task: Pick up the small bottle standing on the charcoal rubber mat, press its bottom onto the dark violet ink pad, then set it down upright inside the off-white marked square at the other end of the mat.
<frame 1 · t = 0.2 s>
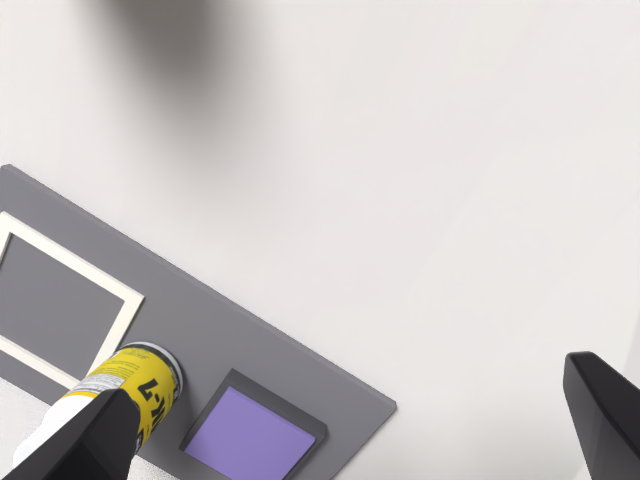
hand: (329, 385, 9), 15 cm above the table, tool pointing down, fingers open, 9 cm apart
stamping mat: (161, 368, 29), on the table
supplement bottle: (150, 372, 28), point 1 cm above the table, touching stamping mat
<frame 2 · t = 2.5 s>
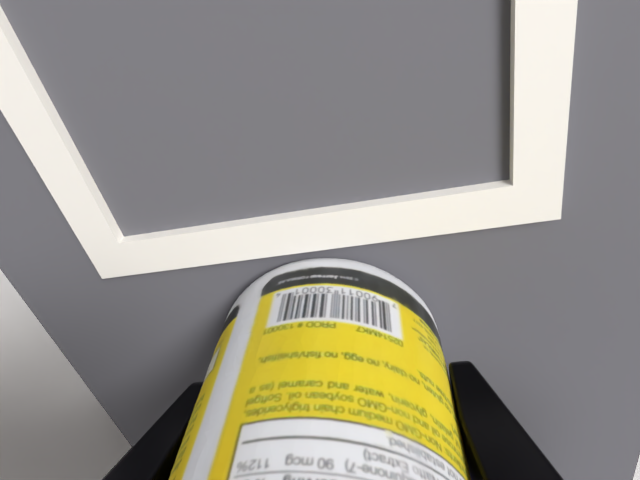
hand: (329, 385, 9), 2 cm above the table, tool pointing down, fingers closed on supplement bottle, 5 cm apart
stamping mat: (340, 329, 11), on the table
supplement bottle: (332, 331, 10), resting on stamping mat, touching gripper
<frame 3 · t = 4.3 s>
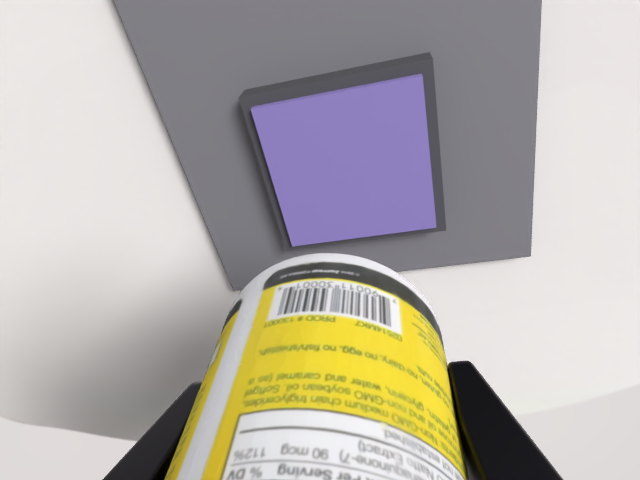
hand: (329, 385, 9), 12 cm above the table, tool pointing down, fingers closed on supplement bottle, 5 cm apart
supplement bottle: (334, 326, 11), point 10 cm above the table, touching gripper
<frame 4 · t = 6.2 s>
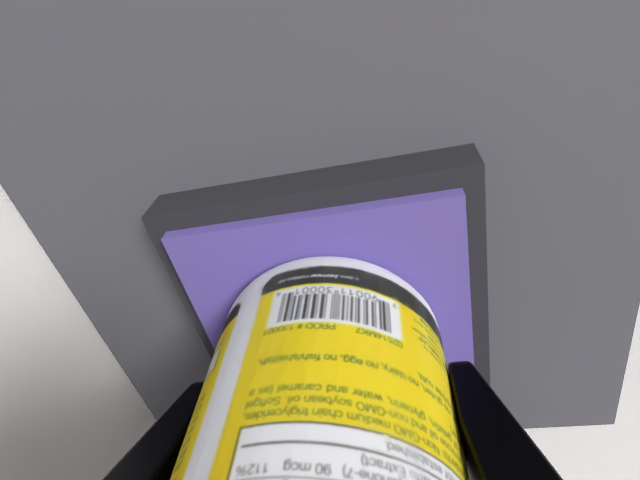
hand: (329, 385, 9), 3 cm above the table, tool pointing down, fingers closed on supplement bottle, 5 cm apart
supplement bottle: (333, 327, 11), point 2 cm above the table, touching gripper, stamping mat
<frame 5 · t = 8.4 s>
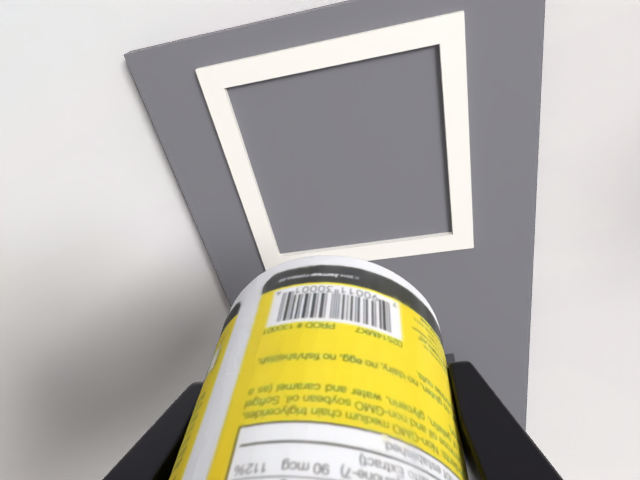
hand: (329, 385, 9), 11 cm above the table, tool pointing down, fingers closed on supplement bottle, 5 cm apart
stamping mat: (375, 298, 22), on the table
supplement bottle: (334, 326, 11), point 9 cm above the table, touching gripper
when the fingers open (3 cm above the table, at t = 10.0 s): supplement bottle drops 1 cm, resting on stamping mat.
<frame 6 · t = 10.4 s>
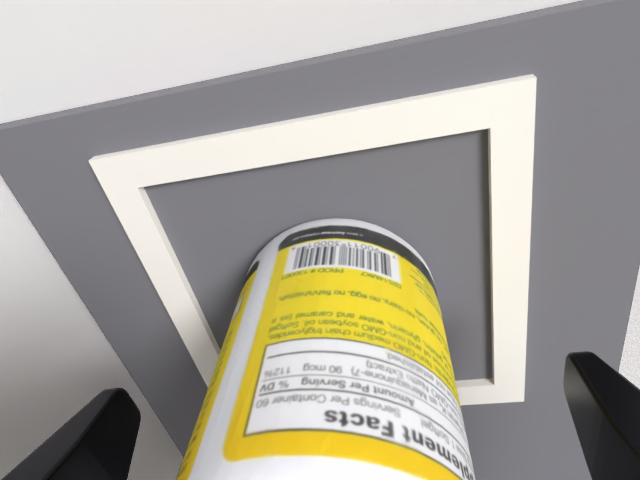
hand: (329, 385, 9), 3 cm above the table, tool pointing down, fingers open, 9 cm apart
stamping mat: (378, 442, 16), on the table
supplement bottle: (340, 287, 12), resting on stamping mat
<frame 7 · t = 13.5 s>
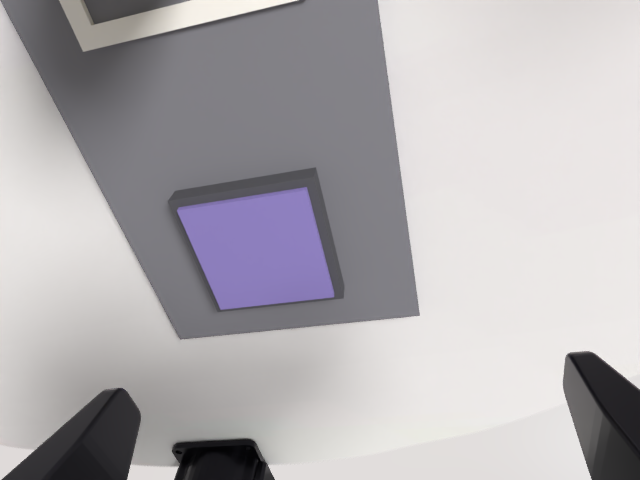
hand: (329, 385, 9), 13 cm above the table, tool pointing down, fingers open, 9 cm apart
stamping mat: (221, 97, 19), on the table
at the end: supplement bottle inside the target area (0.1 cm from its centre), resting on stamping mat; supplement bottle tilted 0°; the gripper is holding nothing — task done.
